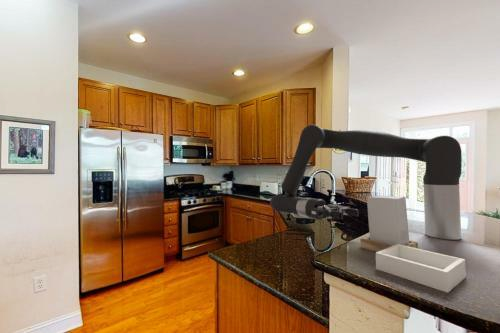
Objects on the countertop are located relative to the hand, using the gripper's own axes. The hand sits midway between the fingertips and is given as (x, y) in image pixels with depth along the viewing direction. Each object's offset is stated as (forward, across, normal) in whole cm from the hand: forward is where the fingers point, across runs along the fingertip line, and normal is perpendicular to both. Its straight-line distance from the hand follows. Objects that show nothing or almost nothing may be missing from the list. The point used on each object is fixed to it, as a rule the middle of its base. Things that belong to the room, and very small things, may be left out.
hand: (350, 214), depth 74 cm
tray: (+22, -10, +8) cm, 26 cm away
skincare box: (+11, 0, +8) cm, 14 cm away
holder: (+11, 0, +8) cm, 14 cm away
